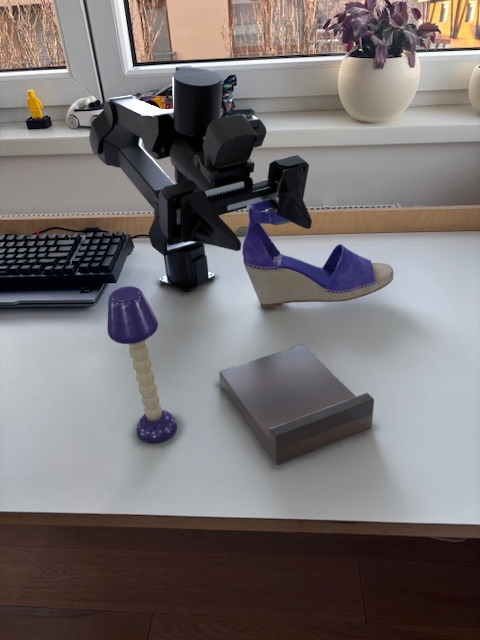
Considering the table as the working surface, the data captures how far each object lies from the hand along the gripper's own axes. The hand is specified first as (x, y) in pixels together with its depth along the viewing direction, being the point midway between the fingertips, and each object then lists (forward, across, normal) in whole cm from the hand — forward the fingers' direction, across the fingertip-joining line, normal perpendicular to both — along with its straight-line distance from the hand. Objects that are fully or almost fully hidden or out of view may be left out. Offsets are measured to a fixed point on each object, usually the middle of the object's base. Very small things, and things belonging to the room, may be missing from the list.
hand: (276, 235), depth 59 cm
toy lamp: (+7, -18, +15) cm, 25 cm away
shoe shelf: (+12, -4, +13) cm, 18 cm away
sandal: (-4, +13, +16) cm, 21 cm away
